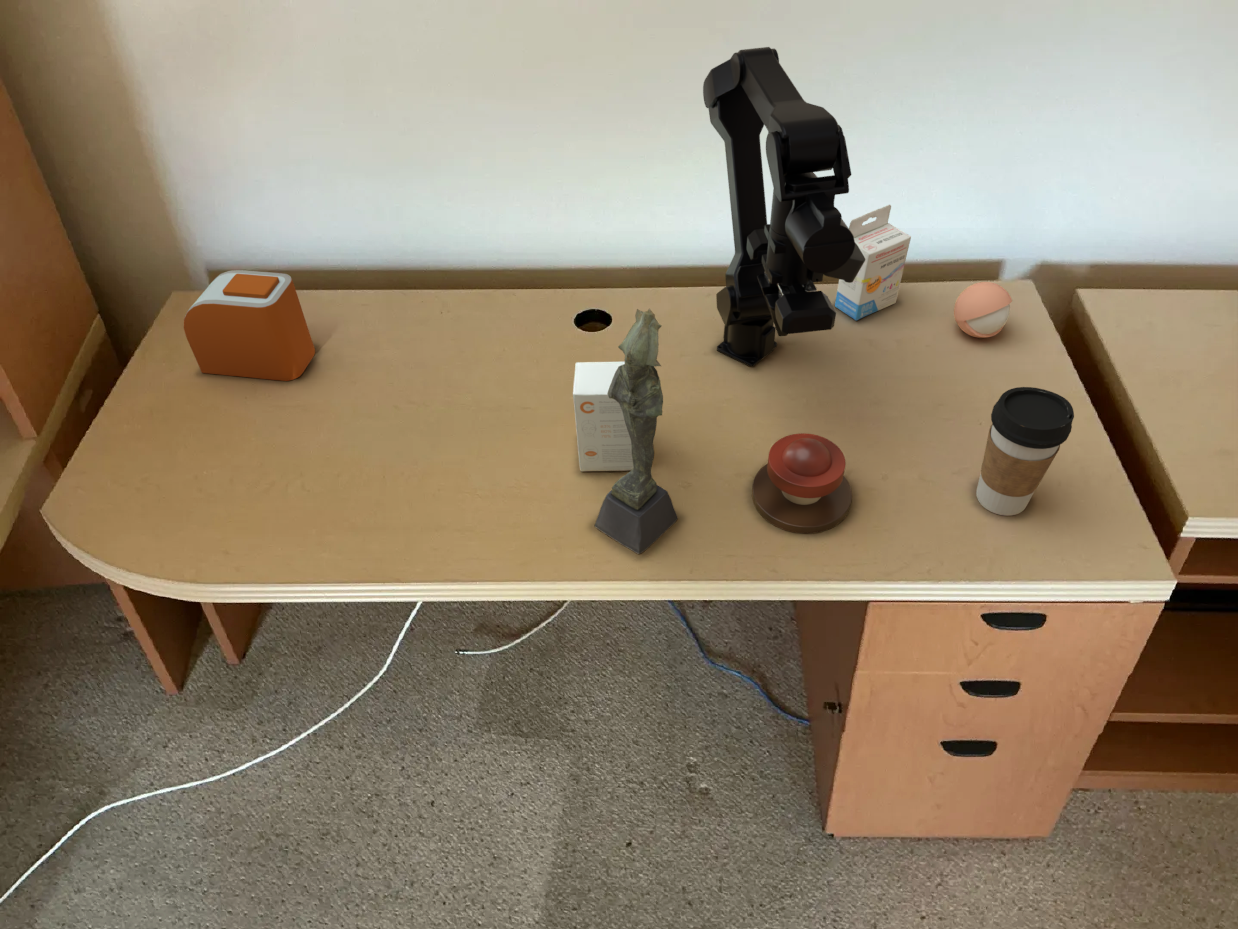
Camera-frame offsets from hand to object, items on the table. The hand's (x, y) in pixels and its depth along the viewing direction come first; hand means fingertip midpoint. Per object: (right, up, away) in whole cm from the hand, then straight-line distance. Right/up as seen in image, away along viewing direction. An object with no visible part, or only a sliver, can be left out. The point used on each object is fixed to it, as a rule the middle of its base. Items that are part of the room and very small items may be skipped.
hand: (782, 334), depth 119 cm
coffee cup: (+26, -21, -4) cm, 33 cm away
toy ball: (+32, +3, +19) cm, 37 cm away
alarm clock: (-73, -1, +19) cm, 75 cm away
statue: (-19, -24, -6) cm, 31 cm away
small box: (-22, -15, +3) cm, 27 cm away
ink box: (+17, +8, +24) cm, 31 cm away
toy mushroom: (+2, -20, -4) cm, 21 cm away
